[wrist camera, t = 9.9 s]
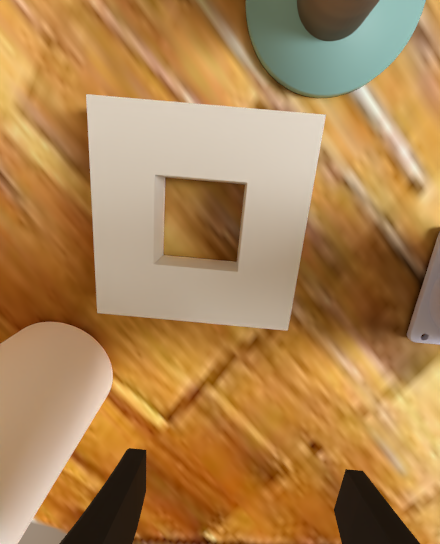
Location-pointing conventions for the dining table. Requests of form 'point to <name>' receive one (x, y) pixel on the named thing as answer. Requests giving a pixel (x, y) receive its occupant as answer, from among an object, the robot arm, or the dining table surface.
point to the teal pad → (328, 46)
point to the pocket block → (206, 167)
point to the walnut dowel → (333, 17)
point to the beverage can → (44, 413)
